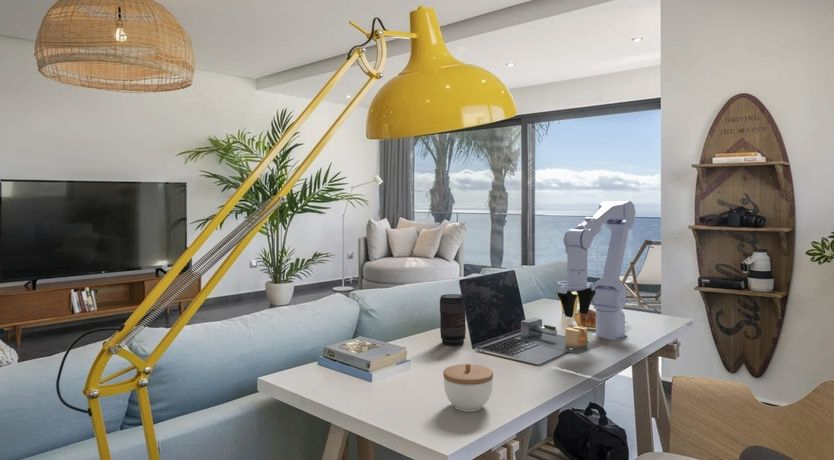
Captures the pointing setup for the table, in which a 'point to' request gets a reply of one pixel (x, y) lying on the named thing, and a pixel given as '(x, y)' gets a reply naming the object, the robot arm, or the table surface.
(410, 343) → the table surface
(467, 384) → the lidded jar
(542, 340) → the mat
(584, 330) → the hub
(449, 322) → the camera lens
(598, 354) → the table surface
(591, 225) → the robot arm
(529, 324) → the shaft assembly
